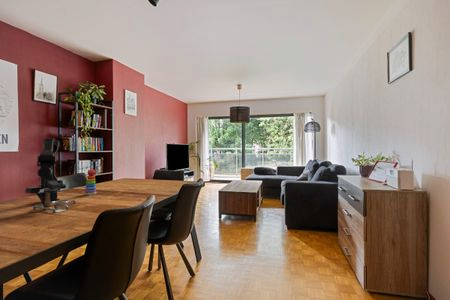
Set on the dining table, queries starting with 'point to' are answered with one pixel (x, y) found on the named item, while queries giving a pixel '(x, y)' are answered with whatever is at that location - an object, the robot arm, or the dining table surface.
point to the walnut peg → (47, 200)
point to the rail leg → (58, 203)
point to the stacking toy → (90, 183)
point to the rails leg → (52, 208)
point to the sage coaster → (60, 210)
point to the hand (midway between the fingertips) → (46, 203)
